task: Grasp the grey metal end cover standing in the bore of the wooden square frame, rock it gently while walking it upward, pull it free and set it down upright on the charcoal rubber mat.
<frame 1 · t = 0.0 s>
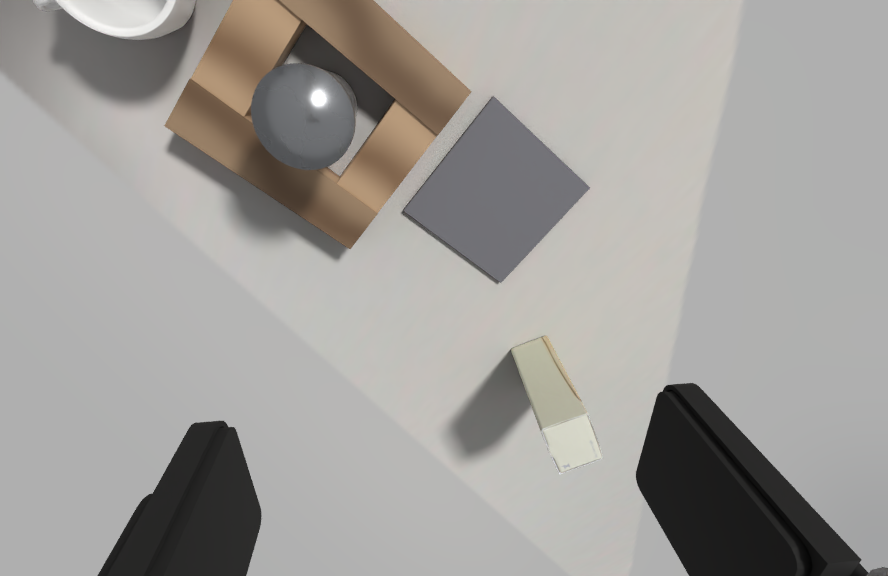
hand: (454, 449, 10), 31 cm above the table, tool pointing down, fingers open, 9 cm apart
mat: (496, 197, 40), on the table
skincare box: (534, 360, 49), on the table
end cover: (315, 111, 31), in the wooden square frame
wooden square frame: (325, 105, 35), on the table
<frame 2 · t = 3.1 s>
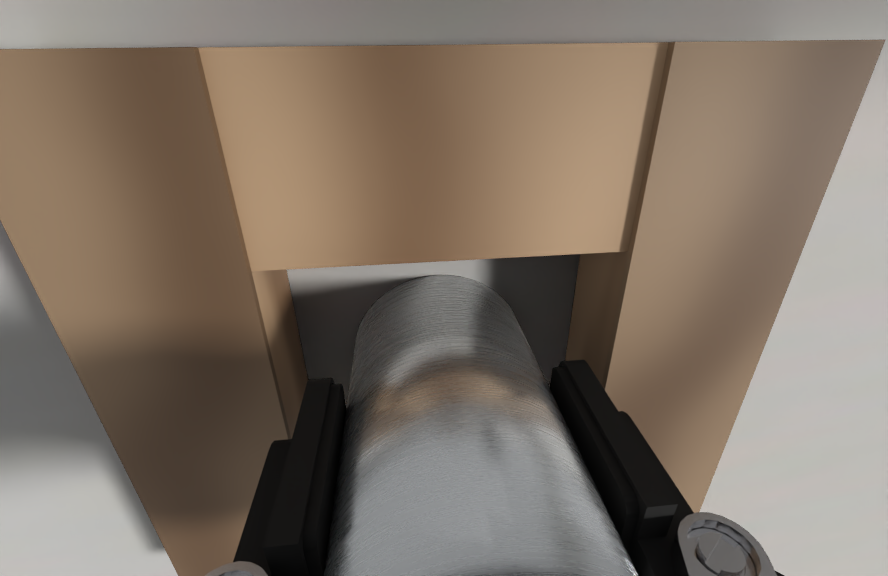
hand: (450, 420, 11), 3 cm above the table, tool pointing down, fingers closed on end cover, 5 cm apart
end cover: (460, 483, 9), in the wooden square frame, touching gripper
wooden square frame: (439, 350, 13), on the table
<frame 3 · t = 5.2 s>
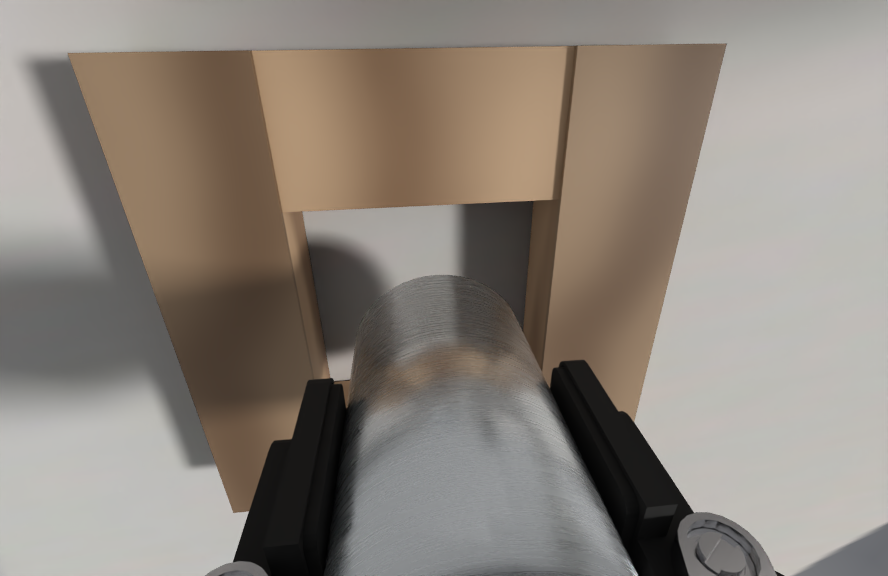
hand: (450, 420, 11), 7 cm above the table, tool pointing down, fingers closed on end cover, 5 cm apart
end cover: (460, 483, 9), point 9 cm above the table, touching gripper
wooden square frame: (423, 290, 17), on the table
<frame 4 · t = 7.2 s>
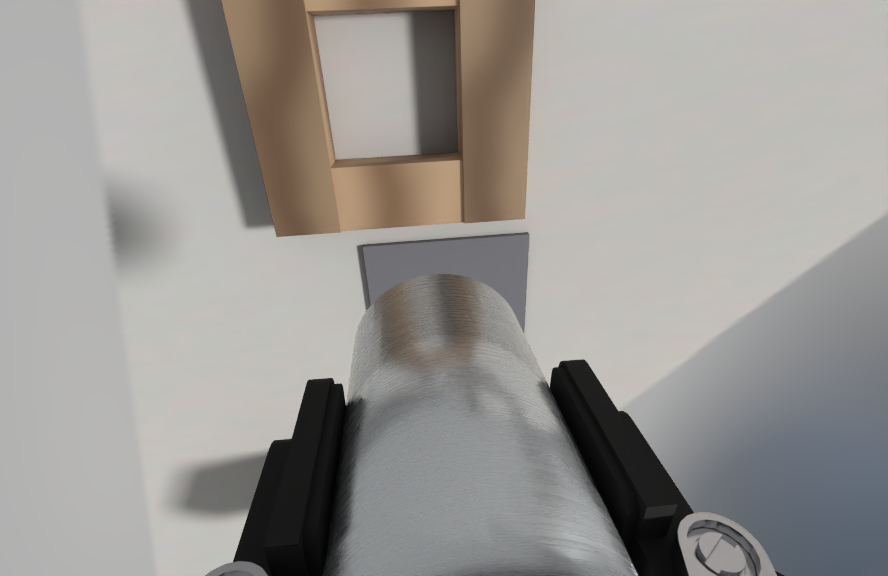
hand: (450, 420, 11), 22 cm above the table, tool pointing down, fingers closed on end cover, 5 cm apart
mat: (449, 309, 34), on the table
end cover: (459, 482, 9), point 24 cm above the table, touching gripper
wooden square frame: (391, 89, 27), on the table
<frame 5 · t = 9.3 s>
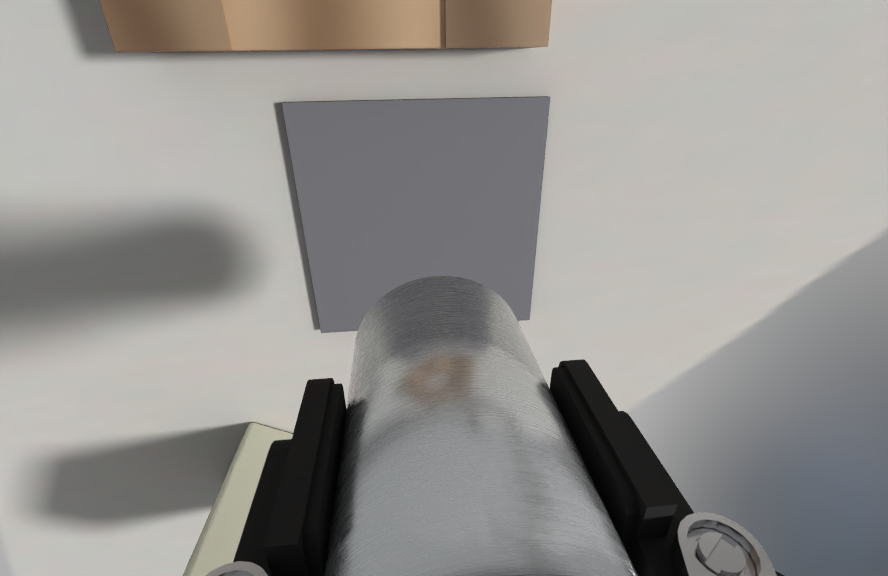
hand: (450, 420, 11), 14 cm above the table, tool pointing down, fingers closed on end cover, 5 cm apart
mat: (423, 224, 23), on the table
skincare box: (268, 456, 30), on the table
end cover: (460, 484, 9), point 16 cm above the table, touching gripper
when the fingers open (5 cm above the table, at t = 11.3 s): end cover drops 1 cm, resting on mat.
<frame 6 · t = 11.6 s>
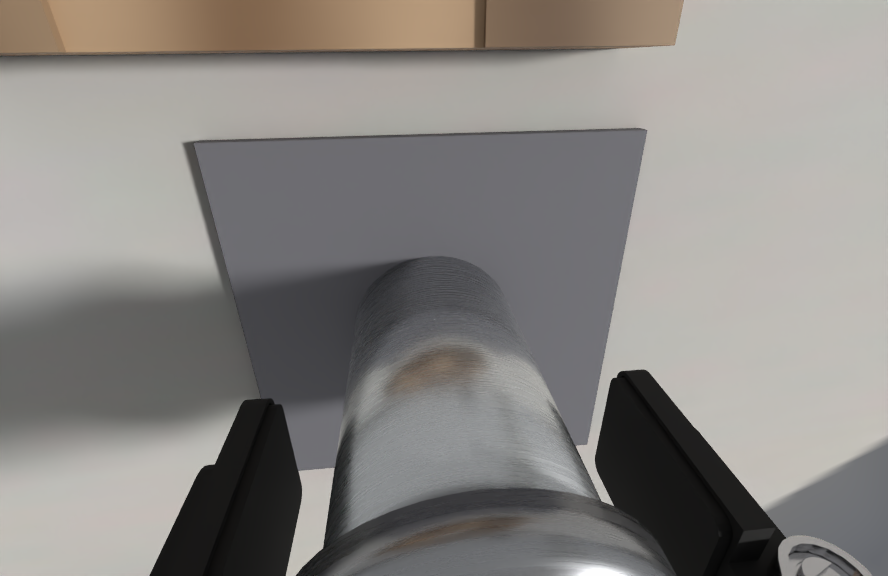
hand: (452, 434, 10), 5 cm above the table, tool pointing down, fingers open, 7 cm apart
mat: (434, 321, 15), on the table
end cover: (450, 436, 10), on the mat
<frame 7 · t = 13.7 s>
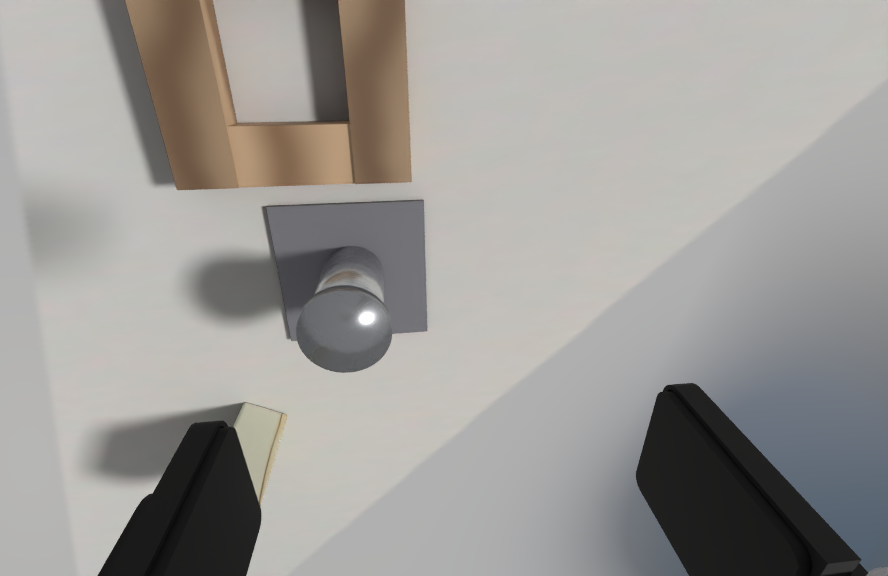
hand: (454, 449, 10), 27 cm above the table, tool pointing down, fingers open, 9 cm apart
mat: (354, 272, 37), on the table
skincare box: (256, 427, 43), on the table
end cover: (349, 300, 32), on the mat
wooden square frame: (286, 58, 30), on the table
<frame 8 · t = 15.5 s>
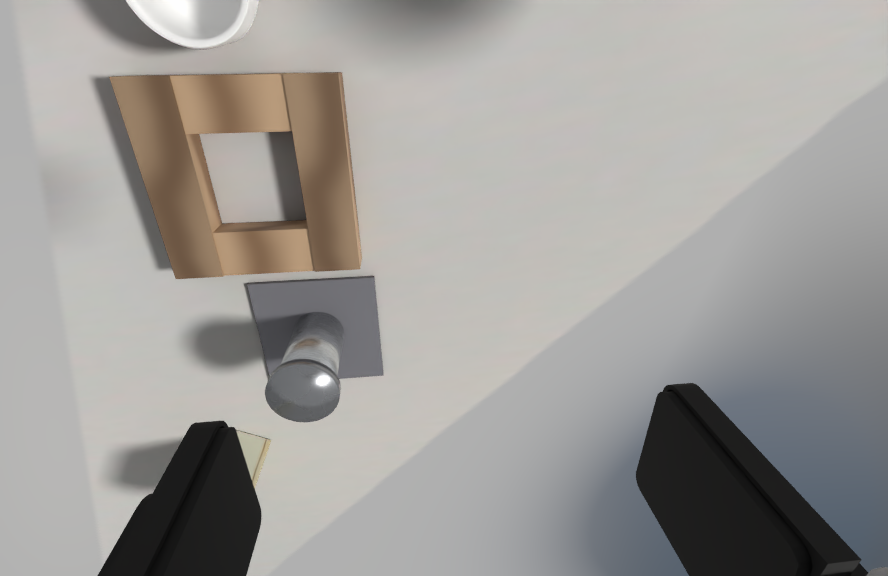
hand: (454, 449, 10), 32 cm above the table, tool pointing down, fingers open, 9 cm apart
mat: (320, 331, 45), on the table
skincare box: (245, 449, 52), on the table
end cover: (312, 360, 41), on the mat
wooden square frame: (258, 177, 38), on the table
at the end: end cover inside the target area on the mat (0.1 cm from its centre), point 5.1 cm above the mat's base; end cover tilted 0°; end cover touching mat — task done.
